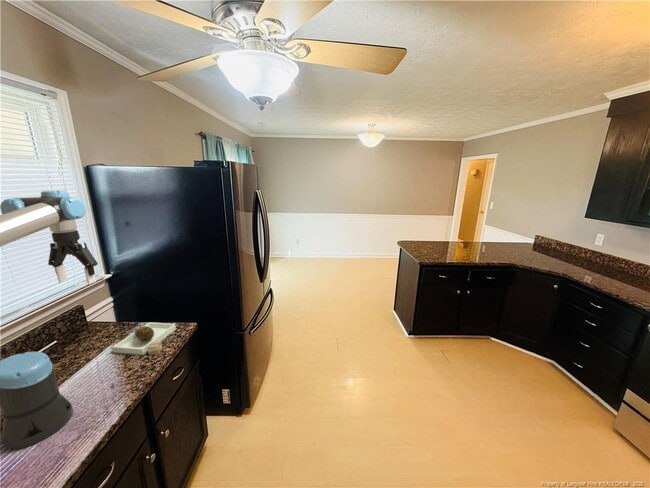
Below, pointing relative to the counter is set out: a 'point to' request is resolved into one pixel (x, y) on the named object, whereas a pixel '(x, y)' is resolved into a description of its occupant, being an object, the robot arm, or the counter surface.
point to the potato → (144, 333)
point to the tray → (140, 348)
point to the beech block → (154, 348)
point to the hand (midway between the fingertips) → (77, 282)
